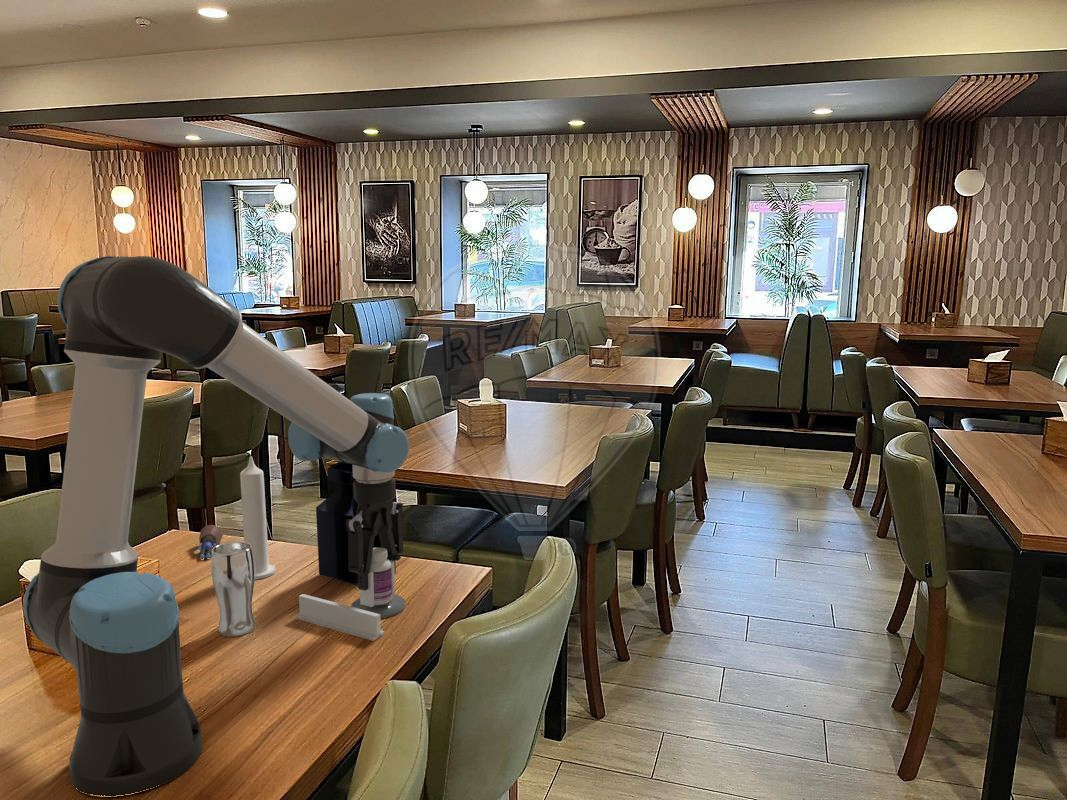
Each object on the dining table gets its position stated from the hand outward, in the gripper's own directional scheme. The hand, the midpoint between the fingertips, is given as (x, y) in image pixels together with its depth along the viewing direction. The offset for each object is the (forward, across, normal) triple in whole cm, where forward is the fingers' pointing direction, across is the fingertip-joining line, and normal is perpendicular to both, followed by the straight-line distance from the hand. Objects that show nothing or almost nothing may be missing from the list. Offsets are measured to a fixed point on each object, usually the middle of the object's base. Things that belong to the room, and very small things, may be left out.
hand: (378, 598), depth 145 cm
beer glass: (+2, -19, +16) cm, 25 cm away
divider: (+2, -9, +1) cm, 10 cm away
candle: (+2, +1, +33) cm, 33 cm away
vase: (+2, +12, +16) cm, 20 cm away
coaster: (+2, 0, 0) cm, 2 cm away
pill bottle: (0, 0, 0) cm, 0 cm away
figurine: (+2, +5, +53) cm, 53 cm away
